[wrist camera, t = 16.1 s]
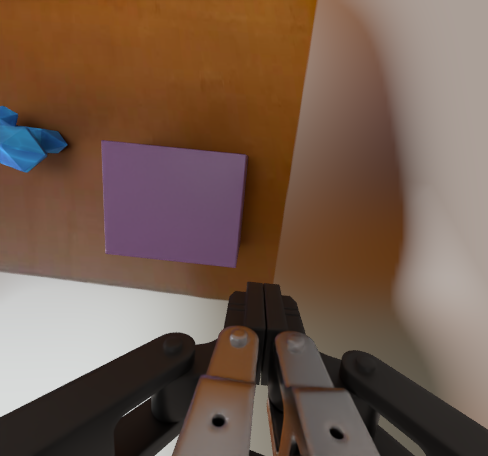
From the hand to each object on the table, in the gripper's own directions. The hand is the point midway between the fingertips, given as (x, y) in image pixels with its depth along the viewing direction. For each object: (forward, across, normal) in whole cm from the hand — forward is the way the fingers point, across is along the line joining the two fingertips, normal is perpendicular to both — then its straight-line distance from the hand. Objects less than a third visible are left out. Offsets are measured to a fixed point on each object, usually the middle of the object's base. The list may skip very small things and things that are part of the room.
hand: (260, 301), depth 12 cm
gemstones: (+28, +32, -7) cm, 43 cm away
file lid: (+20, +10, 0) cm, 22 cm away
